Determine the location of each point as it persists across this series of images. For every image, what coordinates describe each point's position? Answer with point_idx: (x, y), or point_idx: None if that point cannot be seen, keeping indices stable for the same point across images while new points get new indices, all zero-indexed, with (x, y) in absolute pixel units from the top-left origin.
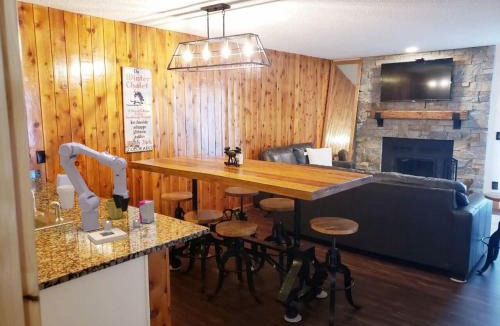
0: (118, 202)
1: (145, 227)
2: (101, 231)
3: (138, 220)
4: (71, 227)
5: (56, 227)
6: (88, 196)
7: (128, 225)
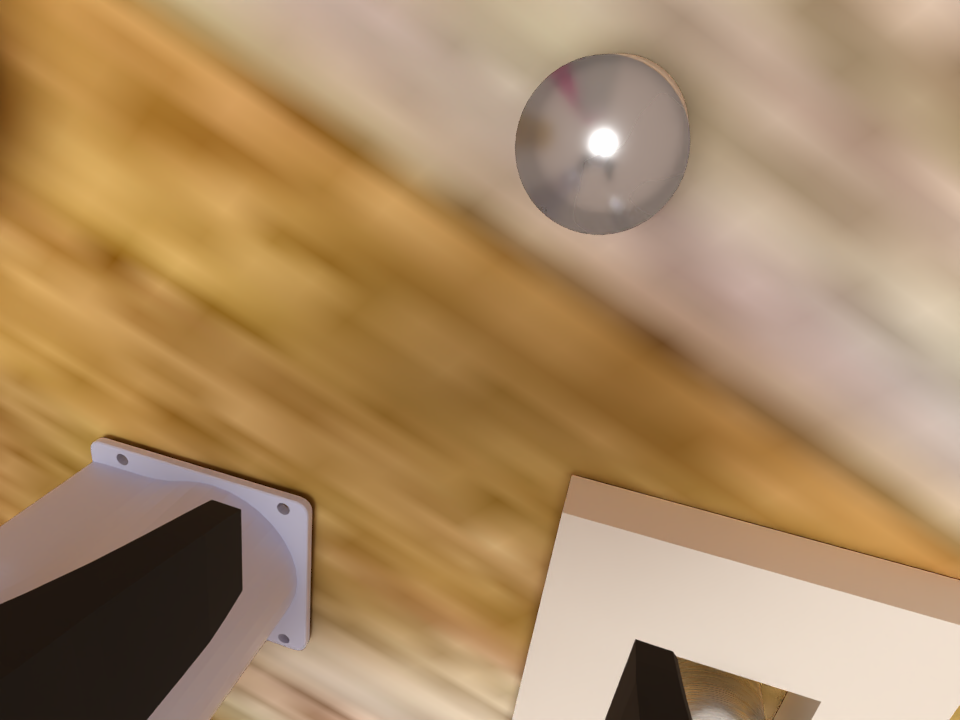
0: (110, 682)
1: (809, 24)
2: (550, 697)
3: (654, 128)
4: None
5: None
6: None
7: (424, 186)
